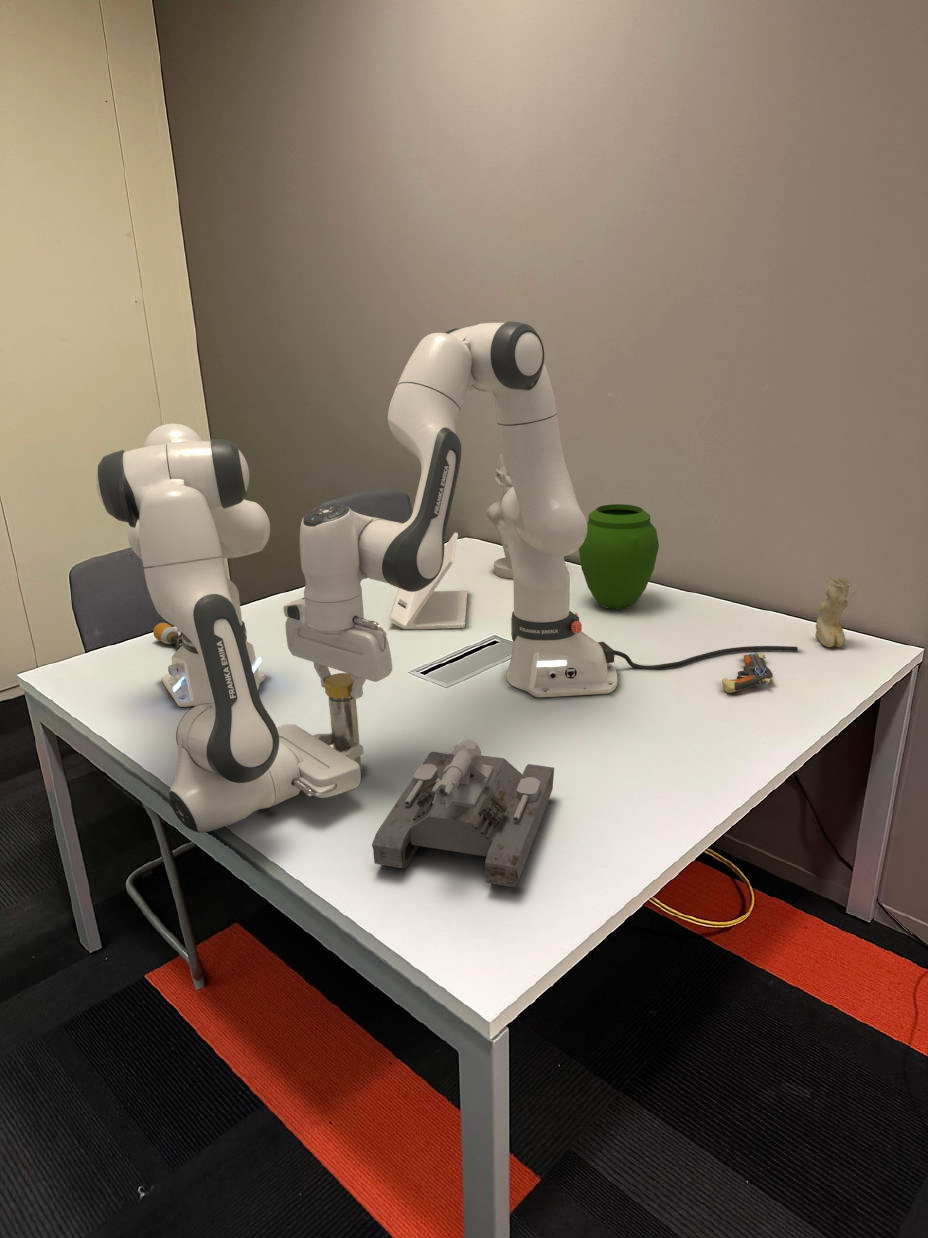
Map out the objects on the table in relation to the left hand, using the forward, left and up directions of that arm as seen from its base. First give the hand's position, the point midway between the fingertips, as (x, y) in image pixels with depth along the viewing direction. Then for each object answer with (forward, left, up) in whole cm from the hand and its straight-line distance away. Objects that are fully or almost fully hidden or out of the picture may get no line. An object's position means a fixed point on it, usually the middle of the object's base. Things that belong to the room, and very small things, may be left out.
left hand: (350, 742), depth 141 cm
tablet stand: (-49, +59, -5) cm, 77 cm away
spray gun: (-77, +9, -5) cm, 78 cm away
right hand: (0, -1, +9) cm, 9 cm away
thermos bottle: (0, -1, -5) cm, 5 cm away
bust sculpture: (-52, +96, -5) cm, 109 cm away
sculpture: (+31, +106, -5) cm, 110 cm away
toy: (+27, +2, -5) cm, 28 cm away
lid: (0, -1, +11) cm, 11 cm away
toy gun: (+27, +78, -5) cm, 83 cm away
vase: (-19, +94, -5) cm, 96 cm away
